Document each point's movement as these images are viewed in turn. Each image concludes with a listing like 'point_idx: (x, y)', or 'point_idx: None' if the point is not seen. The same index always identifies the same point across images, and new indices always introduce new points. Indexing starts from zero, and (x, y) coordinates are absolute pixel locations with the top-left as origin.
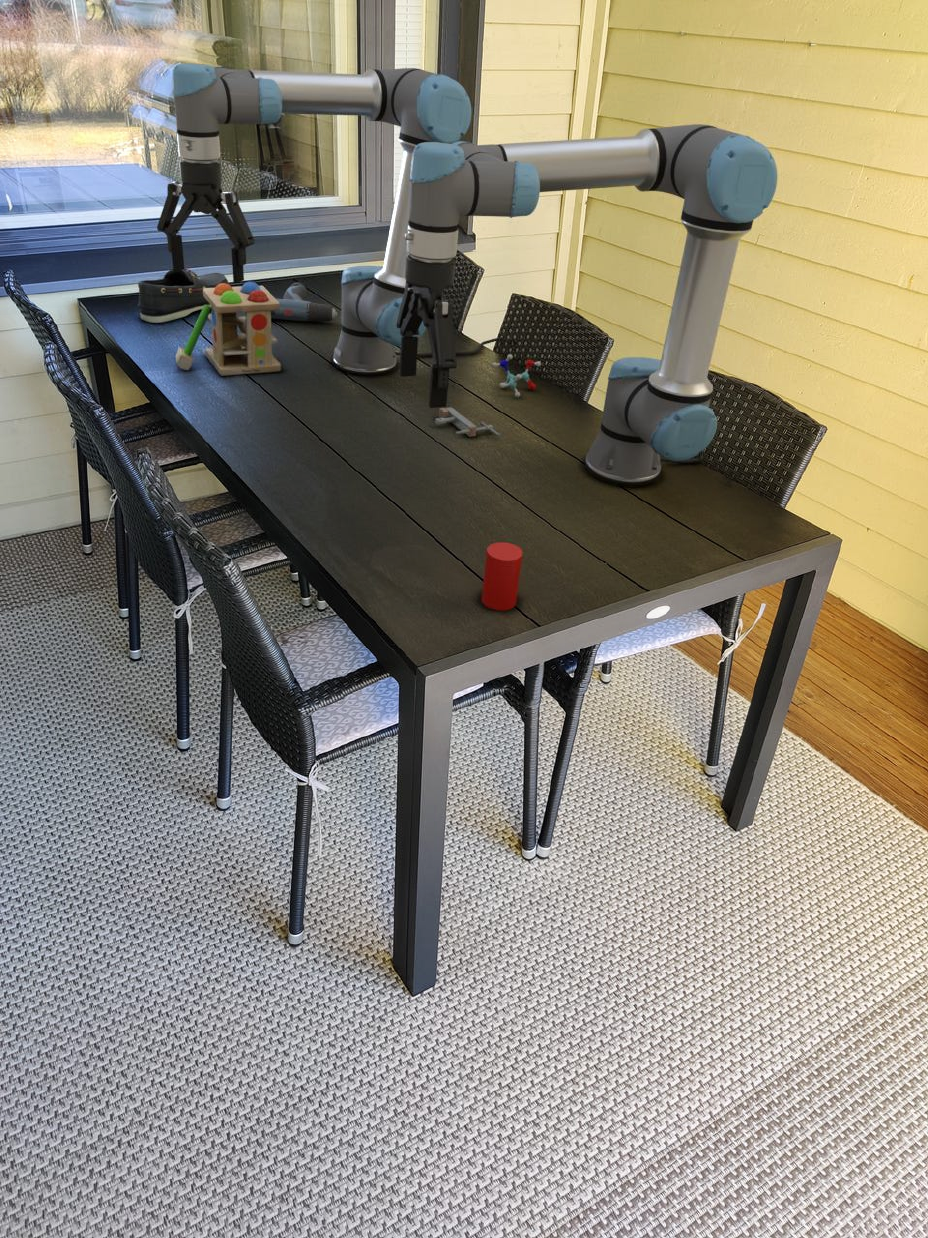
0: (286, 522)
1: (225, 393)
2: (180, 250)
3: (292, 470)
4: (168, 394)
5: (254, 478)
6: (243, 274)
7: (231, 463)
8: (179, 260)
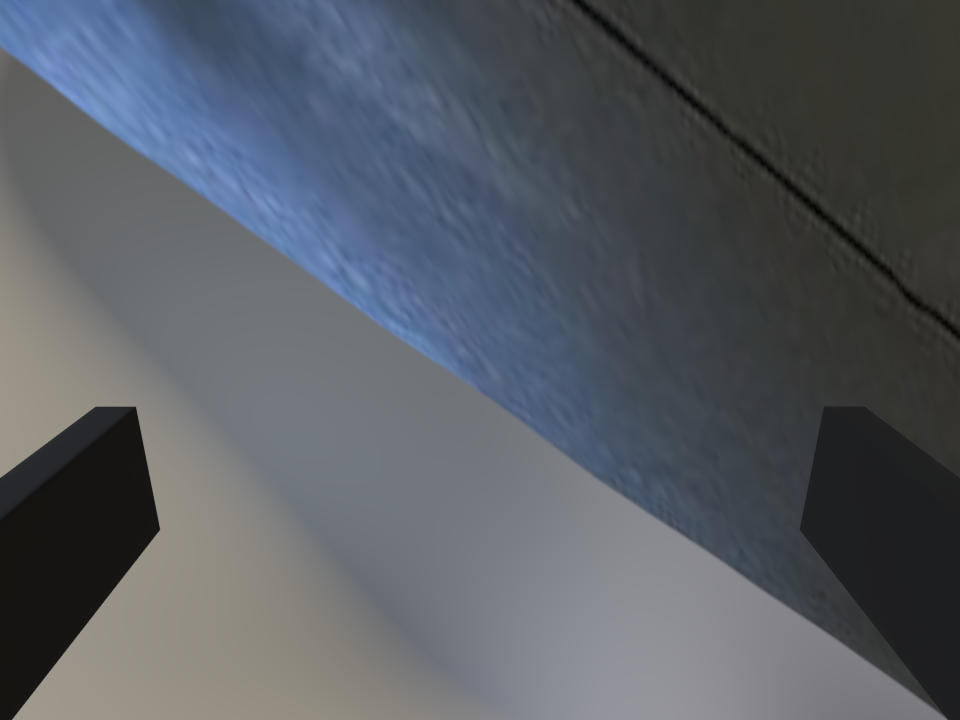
0: None
1: (429, 100)
2: (12, 567)
3: None
4: (263, 227)
5: (806, 589)
6: (900, 440)
7: (715, 550)
8: (93, 531)
